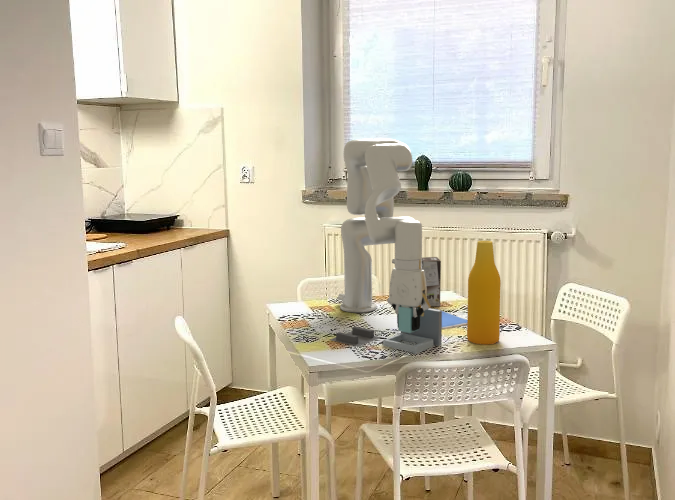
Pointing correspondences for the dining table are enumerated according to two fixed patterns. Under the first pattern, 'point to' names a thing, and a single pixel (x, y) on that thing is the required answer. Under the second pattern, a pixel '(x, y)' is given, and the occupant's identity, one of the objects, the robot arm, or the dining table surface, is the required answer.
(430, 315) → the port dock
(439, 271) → the coffee box
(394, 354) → the dining table surface
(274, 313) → the dining table surface
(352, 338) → the grey ridged plate
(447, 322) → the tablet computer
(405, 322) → the plug
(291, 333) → the dining table surface
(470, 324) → the beer bottle
